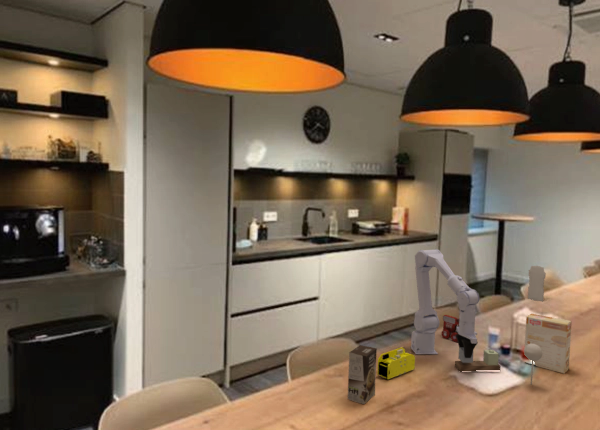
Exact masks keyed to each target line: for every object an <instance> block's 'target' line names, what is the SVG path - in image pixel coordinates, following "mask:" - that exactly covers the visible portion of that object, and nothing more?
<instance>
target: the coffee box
mask: <svg viewBox="0 0 600 430" xmlns="http://www.w3.org/2000/svg"><path fill="white" fill-rule="evenodd" d="M376 370H377V348H375V347H373V346H367V345H361V344H359V345H358V346H356V347H355V348H353V349H352V350H351V351H349V358H348V377H347V378H348V379H347V380H348V384H347V400H348V399H349V401H351V402H352V401H353V402H355V403H359V404H362V405H365V404H366V403H367V402H368V401H370V399H372V398H373V397H374V396H375V395H376V379H377V377H376V374H377V371H376Z"/></svg>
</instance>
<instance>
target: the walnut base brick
mask: <svg viewBox="0 0 600 430" xmlns="http://www.w3.org/2000/svg"><path fill="white" fill-rule="evenodd" d="M454 368H455V369H456V370H457V371H458V372H459V371H460V372H459V373H463V372H462V371H476V370H500V371H501V365H500V364H499V363H498V365H487V364H486V363H485V362H484V361H483V360H473V363H466V362H462V361H461V360H454Z"/></svg>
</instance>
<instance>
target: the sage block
mask: <svg viewBox="0 0 600 430" xmlns="http://www.w3.org/2000/svg"><path fill="white" fill-rule="evenodd" d="M482 358H483V360H482V361H484V362H485V363H486V364H487V365H498V364H499V353H498V352H497V351H496V350H494V349H484V350H483V357H482Z"/></svg>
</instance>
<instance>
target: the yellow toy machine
mask: <svg viewBox="0 0 600 430" xmlns="http://www.w3.org/2000/svg"><path fill="white" fill-rule="evenodd" d="M415 364H416V355H414V354H413V353H409V352H406V349H405V348H404V347H398V348H396V349H395V348H394V349H392V350H389V351H387V352H384V353H381V354H380V355H379V357H378V358H377V371H376V374H377V376H380V377H381V378H384V379H386V380H390V379H392V378H394V377H398V376H401V375H403V374H406V373H407V372H410V371H413V370H415V367H416V365H415Z"/></svg>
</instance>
